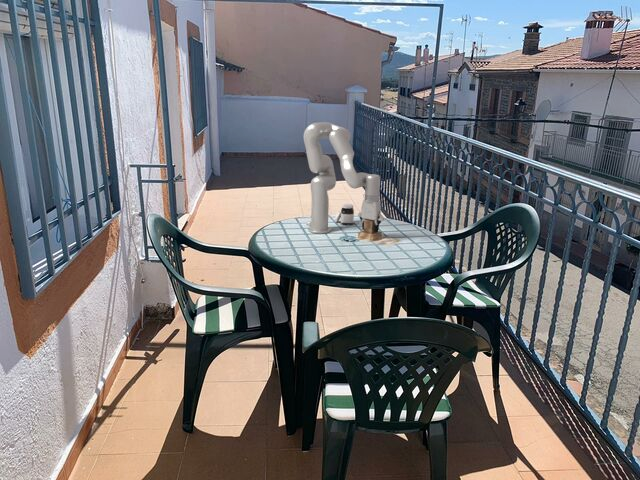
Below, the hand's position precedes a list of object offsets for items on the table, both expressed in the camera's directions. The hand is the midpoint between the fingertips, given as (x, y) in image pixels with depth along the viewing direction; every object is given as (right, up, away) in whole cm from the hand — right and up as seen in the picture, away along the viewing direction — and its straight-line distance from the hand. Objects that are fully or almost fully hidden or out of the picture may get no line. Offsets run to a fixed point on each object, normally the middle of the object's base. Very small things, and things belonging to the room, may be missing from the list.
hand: (370, 230), depth 271 cm
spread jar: (-13, +5, +34) cm, 36 cm away
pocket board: (+4, -6, -2) cm, 7 cm away
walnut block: (0, -4, +1) cm, 4 cm away
